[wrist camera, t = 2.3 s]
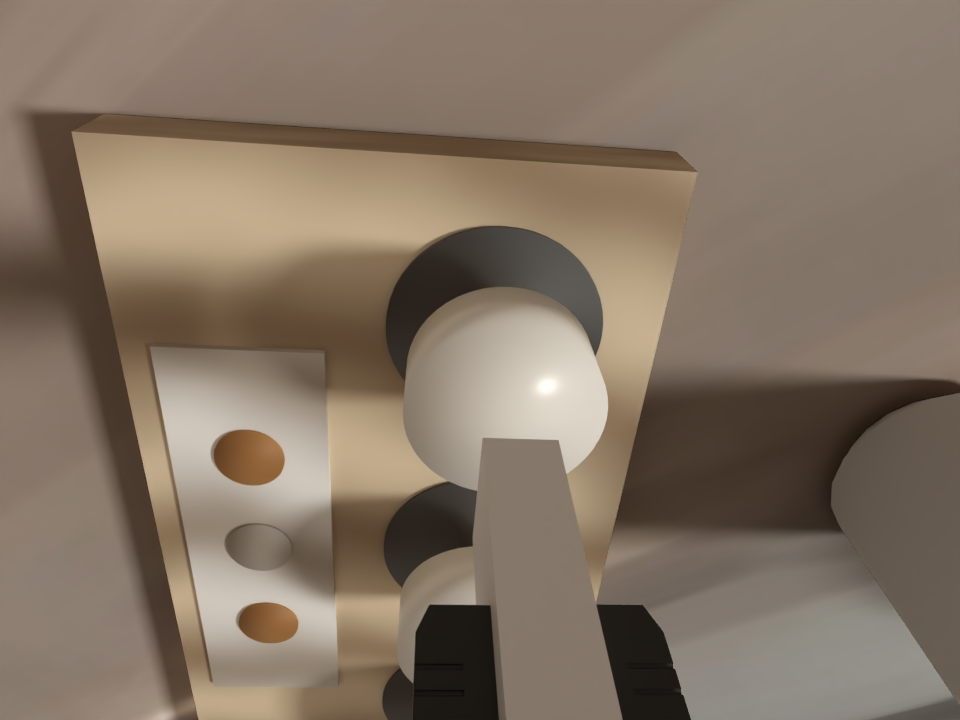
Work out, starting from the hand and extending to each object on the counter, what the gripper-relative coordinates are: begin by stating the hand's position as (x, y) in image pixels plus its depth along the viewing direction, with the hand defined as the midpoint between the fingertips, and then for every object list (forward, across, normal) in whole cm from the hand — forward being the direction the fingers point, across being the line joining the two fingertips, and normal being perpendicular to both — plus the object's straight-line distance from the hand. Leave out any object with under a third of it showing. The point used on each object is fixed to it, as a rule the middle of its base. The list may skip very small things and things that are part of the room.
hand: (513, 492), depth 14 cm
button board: (+9, +3, +10) cm, 14 cm away
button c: (+5, 0, 0) cm, 5 cm away
